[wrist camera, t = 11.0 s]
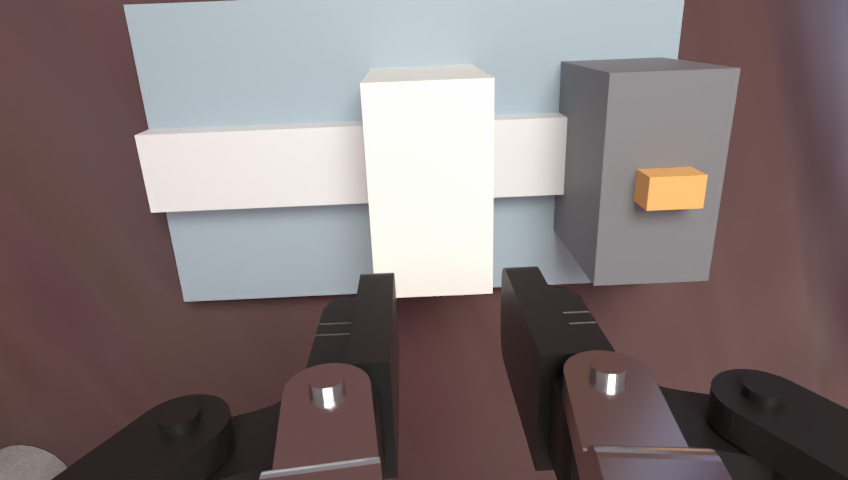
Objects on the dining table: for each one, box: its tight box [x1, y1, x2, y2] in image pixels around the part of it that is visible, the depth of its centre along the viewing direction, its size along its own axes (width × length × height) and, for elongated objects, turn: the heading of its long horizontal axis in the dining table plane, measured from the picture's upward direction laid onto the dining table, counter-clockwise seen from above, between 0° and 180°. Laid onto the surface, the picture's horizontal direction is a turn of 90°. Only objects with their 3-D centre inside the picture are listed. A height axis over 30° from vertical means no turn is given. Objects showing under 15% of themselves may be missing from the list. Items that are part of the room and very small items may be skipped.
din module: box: [360, 64, 495, 298], centre depth 24 cm, size 8×4×7 cm, turn 2°
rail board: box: [124, 0, 740, 302], centre depth 24 cm, size 14×24×9 cm, turn 92°
